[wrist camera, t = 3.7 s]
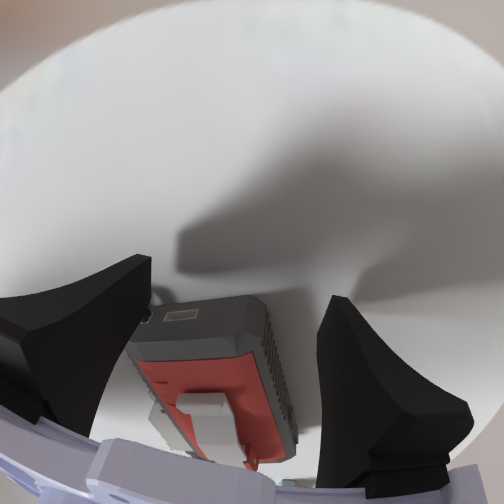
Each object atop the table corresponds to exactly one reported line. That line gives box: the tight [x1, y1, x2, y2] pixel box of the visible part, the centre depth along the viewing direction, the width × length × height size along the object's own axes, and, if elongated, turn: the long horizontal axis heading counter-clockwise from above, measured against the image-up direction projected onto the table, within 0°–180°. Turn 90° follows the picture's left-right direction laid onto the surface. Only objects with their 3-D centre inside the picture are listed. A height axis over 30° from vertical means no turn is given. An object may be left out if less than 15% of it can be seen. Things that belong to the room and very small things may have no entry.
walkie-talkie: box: [124, 295, 298, 471], centre depth 16 cm, size 9×4×20 cm
